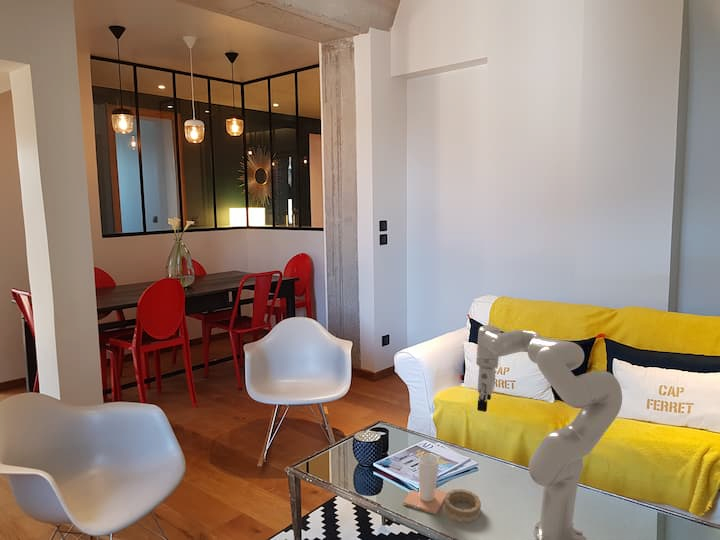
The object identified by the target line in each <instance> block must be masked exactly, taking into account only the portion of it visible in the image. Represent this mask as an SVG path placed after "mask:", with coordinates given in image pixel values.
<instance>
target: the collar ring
mask: <svg viewBox="0 0 720 540" xmlns="http://www.w3.org/2000/svg"><path fill="white" fill-rule="evenodd" d="M455 502H456V503H459V502H461V503H465V504H469V505H470V506H471V507H472V508H470V509H469V508H467V509H462V508H459V507H455V506H454V505H453V503H455ZM481 506H482V503H481V499H480V498H479V496H478V495H477V494H475V493H474V492H472V491H469V490H466V489H463V488H462V489H461V488H459V489H452V490H450V491H448V492H447V494H446V496H445V498H444V502H443V510H444V511H443V512H444V514H445V515H446V516H447V517H448V518H450V519H451V520H453V521H455V522H459V523H472V522H474V521H476V520H478V519H479V517H480V514H481V508H482V507H481Z"/></svg>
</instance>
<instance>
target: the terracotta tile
mask: <svg viewBox="0 0 720 540" xmlns="http://www.w3.org/2000/svg"><path fill="white" fill-rule="evenodd" d="M447 493H448V492H447V491H444V490H440V489H437V488H435V497H434V499H433V500H432V501H429V502H426V501H423V500H421V499H420V497H419V492H416V491H414V490H411V489H410V491H409V492H408V493H407V495H406V497H405V499H404V500H403V503H402V504H406V505H410V506H412V507H411V508H413V507H416V508H418V509H417V510H419V509H421V510H420V511H422V510H424V512H426V513H429V512H430V514H432V513H433V514H432V515H435V514H436V515H438V513H439V512H440V509H441V507H442V506H443V505H444V498H445V496H446V494H447ZM406 505H405V506H406ZM416 508H415V509H416Z"/></svg>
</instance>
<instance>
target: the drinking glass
mask: <svg viewBox="0 0 720 540" xmlns="http://www.w3.org/2000/svg"><path fill="white" fill-rule="evenodd" d="M417 467H418V469H417V470H418V484H419V497H420V499H421V500H423V501H426V502H429V501H432V500H433V499H434V497H435V489H437V481H438V475H439V473H438V472H439V459H438V457H437V456H436V455H433V454H430V453H429V454H428V453H425V454H423V455H422V454H421V456H419V458H418V466H417Z"/></svg>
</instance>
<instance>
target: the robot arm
mask: <svg viewBox="0 0 720 540" xmlns="http://www.w3.org/2000/svg"><path fill="white" fill-rule="evenodd" d="M477 332H478V333H477V335H478V336H477V346H476V347H477V349H476V362H475V363H476V365H477V366H478V375H477V377H478V378H477V379H478V380H477V393H478V399H477V409H476V410H477V411H478V412H484V413H486V412H487V410H488V401H491V399H492V394H493V392H494V389H495V386H496V368H497V367H498V366H499V358H500V357H505V356H509V355H512V354H517V353H521V352H522V353H523V352H524V353H527V355H528V357H529V360H530V361H531V362H532V363H534V364H536V365H537V367H538V369H539V371H540V372H541V374H542V375H543V377H544V378H545V380H546V381H547V382H548V383H549V385H550V386H551V387H552V388H553V390H554V391H555V392H556V394H557V396H559V397H560V399H561V400H562V401H563V402H564V403H565V404H566V405H568V406H569V407H570V408H573V409H574V408H575V409H580V411H579V412H578V413H577V415H576V416H575V418H574V419H573V420H572V421H571V423H570V424H567V425H566V426H564V427H561V428H558V429H556V430H553V431H550V432H549V433H548V434H546V435H545V436H544V438H543V439H542V440H541V442H540V443H539V445H538V446H537V447H536V449H535V450H534V452H533V454H532V455H531V457H530V459H529V462H528V473H529V476H530V478H531V480H533V482H534V483H535V484H537V485H538V486H542V487H543V492H542V493H543V494H542V501H541V511H540V521H538V522H537V523H536V524H535V525H534V528H533V533H534V536H535V538H536V539H537V540H587V536H585V535H583V533H584V531H582V530H578V529H576V528H574V522H573V521H574V512H575V506H576V505H575V504H576V498H577V491H578V485H579V481H580V479H581V476H582V472H583V469H584V460H583V458H585V457H586V456H588V455H589V454H590V453H592V451H593V449H594V448H595V447H596V446H597V444H598V443H599V441H600V440H601V439H602V437H603V436H604V435H605V433H606V432H607V430H608V429H609V428H610V426H611V425H612V424H613V423H614V421H615V420H616V418H617V416H618V414H619V413H620V411H621V409H622V408H621V407H622V405H623V404H622V403H623V390H622V387H621V385H620V382H619V381H618V379H617V378H616V376H615V375H614V374H612V373H611V372H609V371H606V370H595V371H590V372H585V373H582V374H579V375H575V374H574V373H573V372H572V371H573V370H576V369H577V368H579V367H580V366H582V364H583V362H584V360H585V352H584V350H583V348H582V347H581V346H580V345H579V344H577V343H576V342H573V341H568V340H562V339H556V338H551V337H550V338H549V337H543V336H542V335H540V334H539V333H537V332H535V331H531V330H523V329H516V330H509V331H505V332H502V331H501V329H500V328H499V327H498V326H494V325H489V324H488V325H487V324H486V325H482V326H480V327H479V328H478V331H477Z"/></svg>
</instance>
